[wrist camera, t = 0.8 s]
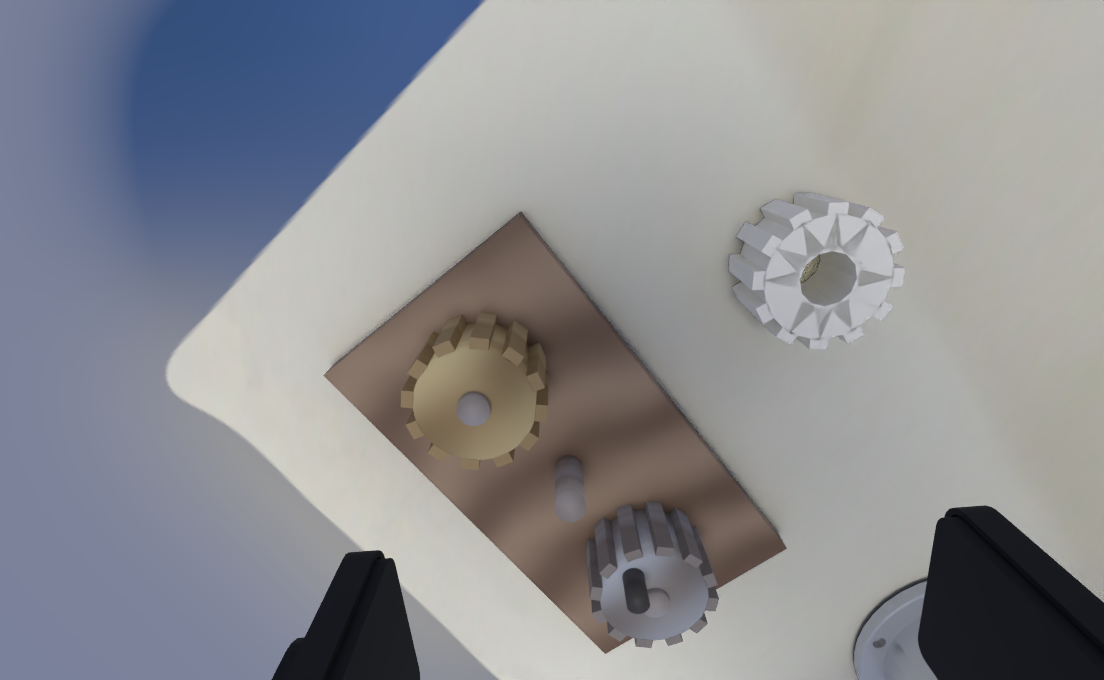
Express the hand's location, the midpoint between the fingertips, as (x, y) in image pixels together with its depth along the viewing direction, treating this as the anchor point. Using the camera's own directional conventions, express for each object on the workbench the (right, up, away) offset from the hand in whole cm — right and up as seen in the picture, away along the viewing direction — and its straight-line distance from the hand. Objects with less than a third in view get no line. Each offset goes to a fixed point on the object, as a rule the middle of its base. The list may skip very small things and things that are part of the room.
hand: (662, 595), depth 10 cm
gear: (+11, +9, +21) cm, 25 cm away
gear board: (-1, -2, +25) cm, 25 cm away
